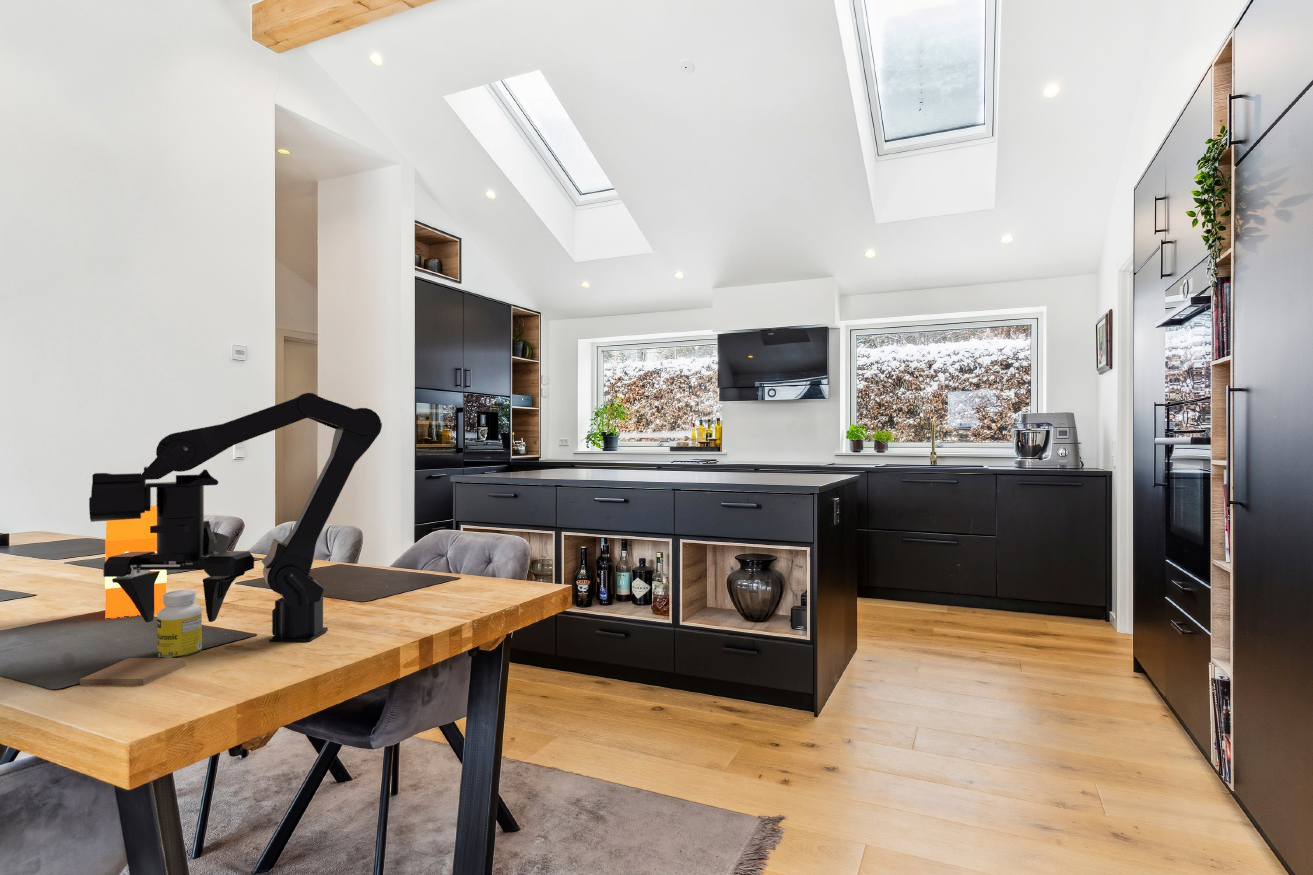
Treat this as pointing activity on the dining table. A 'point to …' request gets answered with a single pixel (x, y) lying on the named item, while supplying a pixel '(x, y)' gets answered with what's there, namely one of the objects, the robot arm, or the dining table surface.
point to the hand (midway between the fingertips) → (180, 621)
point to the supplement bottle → (179, 625)
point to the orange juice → (123, 540)
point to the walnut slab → (134, 671)
